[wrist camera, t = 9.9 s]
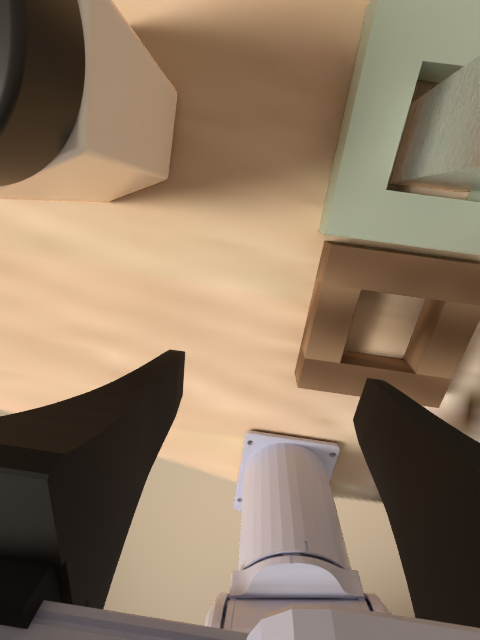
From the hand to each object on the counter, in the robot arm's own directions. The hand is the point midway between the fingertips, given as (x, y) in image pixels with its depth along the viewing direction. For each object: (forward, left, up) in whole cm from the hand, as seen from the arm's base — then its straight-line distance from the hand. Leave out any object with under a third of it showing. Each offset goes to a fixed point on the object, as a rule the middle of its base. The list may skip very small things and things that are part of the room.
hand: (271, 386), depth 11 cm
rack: (+11, -8, -10) cm, 17 cm away
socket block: (0, -8, -10) cm, 13 cm away
